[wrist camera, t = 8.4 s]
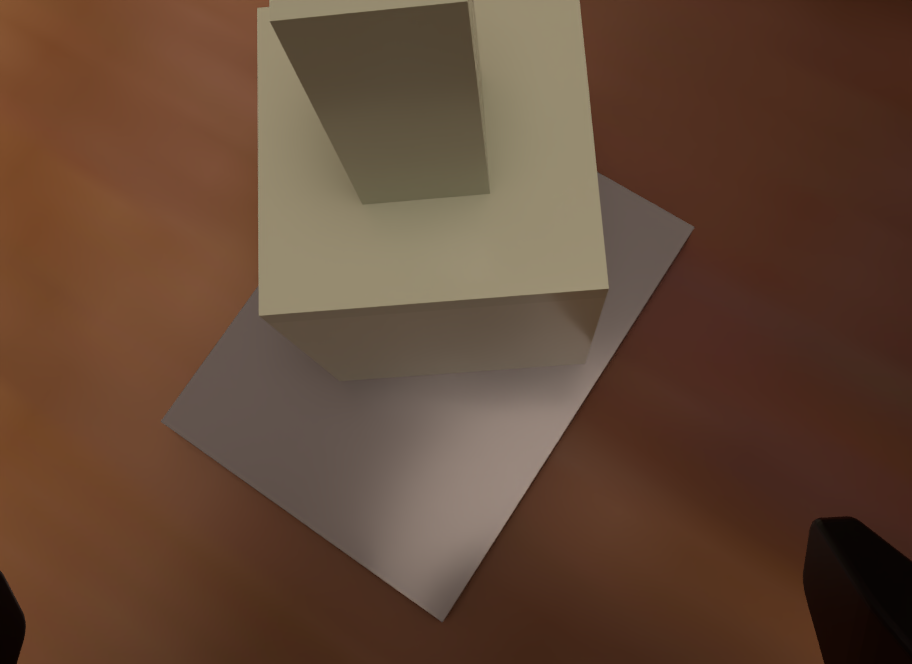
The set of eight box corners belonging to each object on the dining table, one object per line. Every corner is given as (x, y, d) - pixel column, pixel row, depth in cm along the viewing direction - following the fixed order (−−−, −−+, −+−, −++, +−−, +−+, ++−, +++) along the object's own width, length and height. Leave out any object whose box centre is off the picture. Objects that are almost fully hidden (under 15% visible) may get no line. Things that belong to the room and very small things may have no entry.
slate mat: (446, 618, 22) (442, 622, 21) (175, 426, 24) (160, 421, 23) (687, 239, 24) (694, 227, 23) (419, 86, 26) (414, 68, 25)
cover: (585, 363, 22) (656, 140, 10) (339, 381, 23) (102, 190, 10) (563, 134, 24) (600, -316, 11) (333, 155, 24) (120, -256, 12)
